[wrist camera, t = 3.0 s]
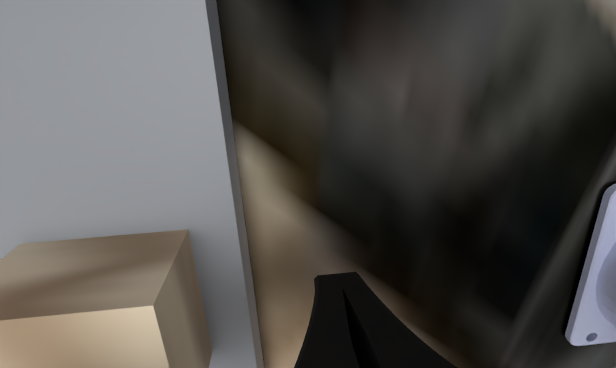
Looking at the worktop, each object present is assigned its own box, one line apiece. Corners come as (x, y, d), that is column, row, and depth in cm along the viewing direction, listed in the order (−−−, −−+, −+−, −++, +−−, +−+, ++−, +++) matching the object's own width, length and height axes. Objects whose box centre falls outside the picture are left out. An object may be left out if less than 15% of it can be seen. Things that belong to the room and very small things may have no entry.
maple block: (188, 229, 11) (152, 305, 8) (212, 350, 13) (191, 453, 10) (20, 243, 11) (-87, 329, 8) (69, 366, 13) (-1, 476, 10)
